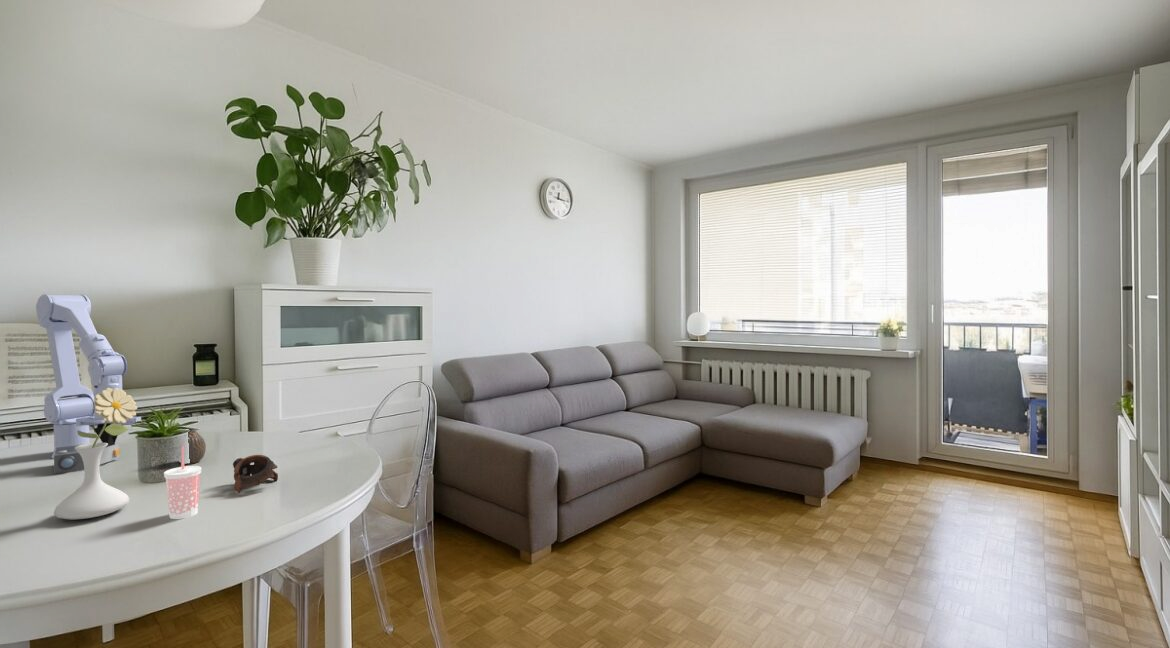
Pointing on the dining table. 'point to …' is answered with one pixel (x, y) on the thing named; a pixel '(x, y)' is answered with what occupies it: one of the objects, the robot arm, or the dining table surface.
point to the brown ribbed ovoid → (196, 446)
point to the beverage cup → (183, 489)
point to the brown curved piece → (253, 471)
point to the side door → (110, 453)
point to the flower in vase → (94, 492)
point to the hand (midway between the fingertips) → (109, 452)
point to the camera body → (67, 459)
